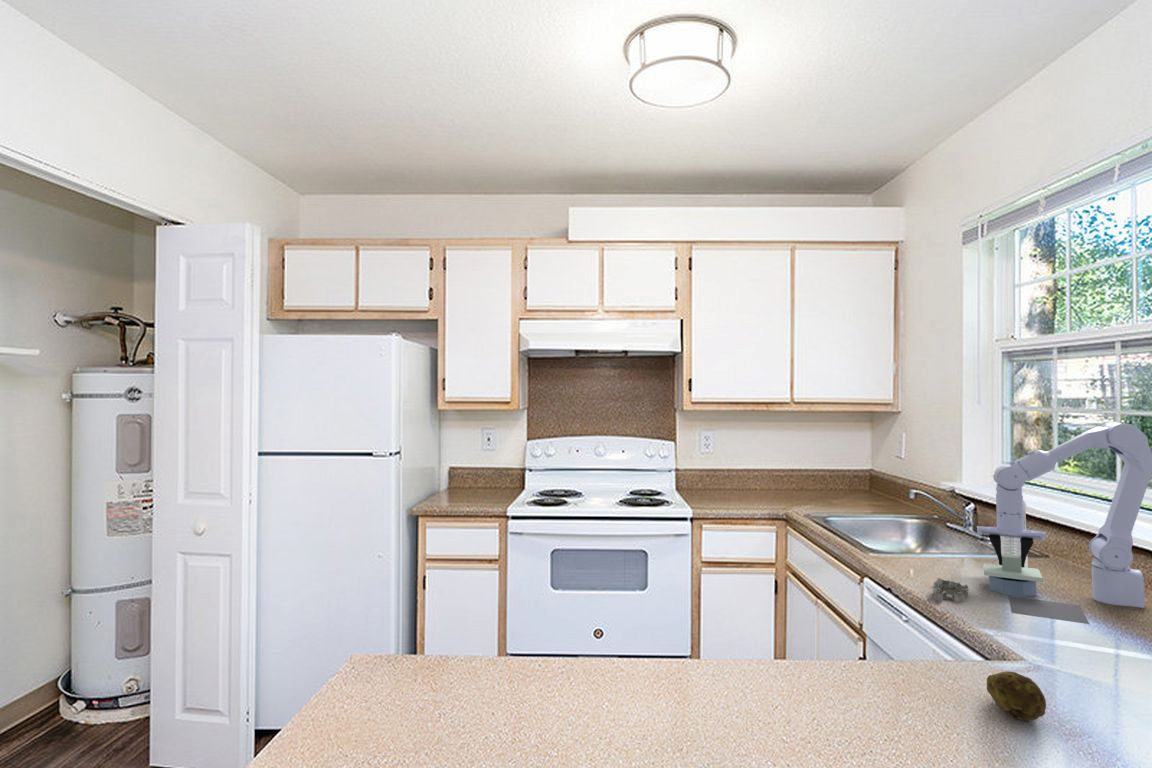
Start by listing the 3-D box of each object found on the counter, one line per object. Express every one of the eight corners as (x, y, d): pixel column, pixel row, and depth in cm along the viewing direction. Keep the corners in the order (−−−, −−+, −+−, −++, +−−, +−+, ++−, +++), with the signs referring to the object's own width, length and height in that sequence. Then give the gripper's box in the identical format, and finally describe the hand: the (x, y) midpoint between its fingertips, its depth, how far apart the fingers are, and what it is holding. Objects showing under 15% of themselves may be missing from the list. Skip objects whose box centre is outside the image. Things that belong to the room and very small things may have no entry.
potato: (1049, 709, 101) (1048, 660, 102) (1045, 744, 92) (1044, 690, 92) (989, 694, 107) (987, 648, 107) (979, 726, 97) (977, 674, 97)
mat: (1080, 608, 148) (1079, 605, 148) (1089, 627, 136) (1089, 623, 136) (1008, 598, 155) (1008, 595, 155) (1011, 616, 144) (1011, 612, 144)
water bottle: (1033, 581, 169) (1030, 489, 169) (1005, 580, 170) (1002, 489, 171) (1020, 574, 176) (1018, 486, 176) (993, 573, 177) (991, 485, 177)
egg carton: (964, 607, 150) (964, 590, 150) (929, 601, 155) (929, 585, 155) (971, 596, 158) (971, 580, 159) (938, 590, 163) (937, 575, 163)
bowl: (1033, 591, 161) (1033, 574, 162) (1037, 602, 153) (1036, 583, 153) (988, 585, 167) (988, 568, 167) (989, 595, 158) (989, 578, 158)
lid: (1038, 572, 161) (1037, 555, 162) (1043, 582, 151) (1042, 563, 152) (983, 566, 168) (982, 549, 168) (984, 575, 158) (983, 557, 158)
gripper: (976, 512, 161) (978, 565, 161) (1046, 517, 153) (1048, 573, 153) (976, 508, 167) (977, 558, 167) (1043, 513, 159) (1045, 566, 159)
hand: (1011, 565), depth 160 cm, fingers closed on lid, 4 cm apart
